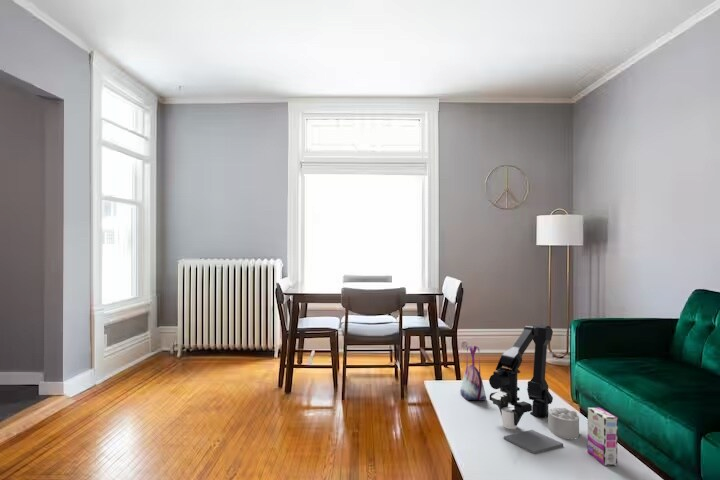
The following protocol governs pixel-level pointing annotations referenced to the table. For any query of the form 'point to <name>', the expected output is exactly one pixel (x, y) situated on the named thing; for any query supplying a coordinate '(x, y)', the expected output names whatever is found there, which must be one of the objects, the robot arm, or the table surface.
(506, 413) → the shot glass
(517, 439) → the charcoal mat
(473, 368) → the handbag
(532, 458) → the table surface
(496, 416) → the table surface
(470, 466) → the table surface
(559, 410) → the lumpy-topped squat cylinder
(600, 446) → the candy bar box
